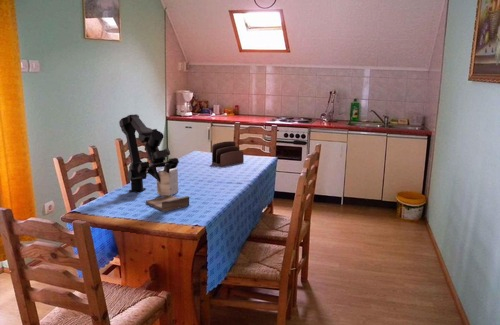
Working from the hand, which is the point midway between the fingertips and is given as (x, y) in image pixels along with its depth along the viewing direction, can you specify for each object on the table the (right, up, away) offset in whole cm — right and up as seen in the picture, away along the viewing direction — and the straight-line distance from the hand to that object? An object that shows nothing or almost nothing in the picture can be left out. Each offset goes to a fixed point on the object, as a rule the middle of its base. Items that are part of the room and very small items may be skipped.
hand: (164, 180), depth 195 cm
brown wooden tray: (0, -12, +9) cm, 15 cm away
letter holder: (+24, +8, +94) cm, 98 cm away
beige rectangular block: (-1, -6, +3) cm, 7 cm away
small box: (-3, -8, +26) cm, 27 cm away
